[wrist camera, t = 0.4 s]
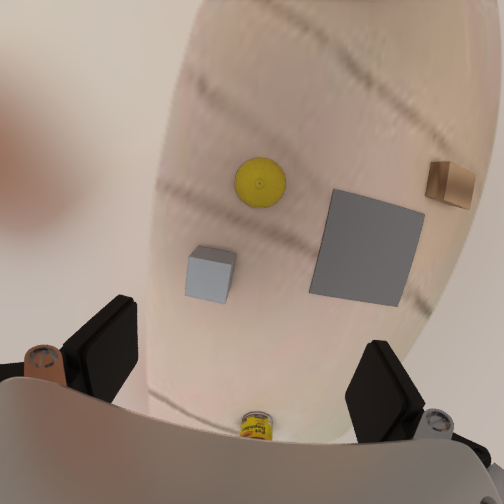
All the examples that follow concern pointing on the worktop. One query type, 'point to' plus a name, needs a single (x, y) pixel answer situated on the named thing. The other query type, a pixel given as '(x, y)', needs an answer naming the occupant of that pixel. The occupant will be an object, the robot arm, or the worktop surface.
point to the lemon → (260, 182)
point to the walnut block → (450, 184)
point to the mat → (366, 250)
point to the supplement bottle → (257, 426)
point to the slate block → (209, 274)
